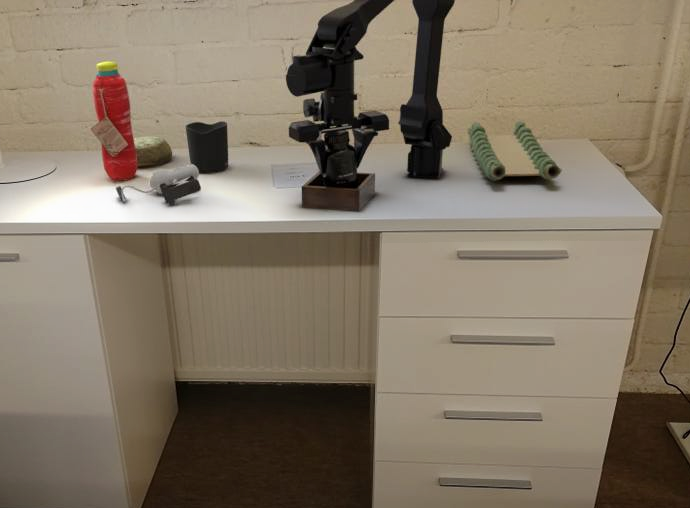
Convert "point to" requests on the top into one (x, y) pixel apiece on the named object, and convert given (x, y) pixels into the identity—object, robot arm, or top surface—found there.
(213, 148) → the pen holder
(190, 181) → the clip-on lamp
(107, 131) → the water bottle
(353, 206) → the holder
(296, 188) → the top surface
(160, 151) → the mossy green stone
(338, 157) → the supplement bottle
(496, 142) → the stretcher
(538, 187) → the top surface
